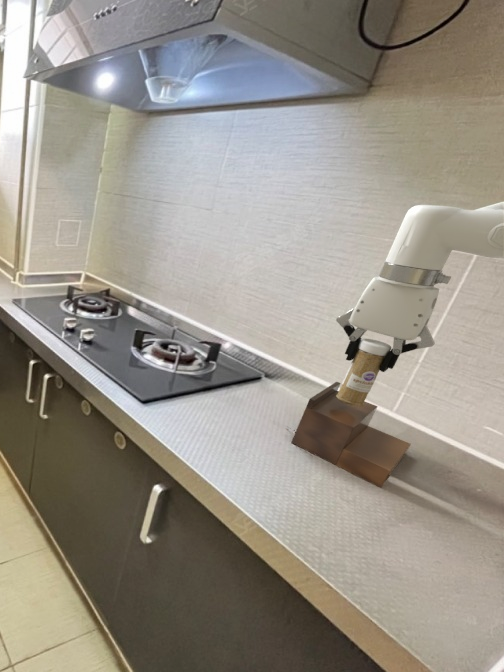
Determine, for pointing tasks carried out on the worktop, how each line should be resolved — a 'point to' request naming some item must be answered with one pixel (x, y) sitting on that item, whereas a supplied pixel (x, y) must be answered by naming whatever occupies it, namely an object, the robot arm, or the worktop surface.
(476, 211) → the robot arm
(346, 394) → the sprinkles bottle
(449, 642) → the worktop surface
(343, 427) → the spice rack
